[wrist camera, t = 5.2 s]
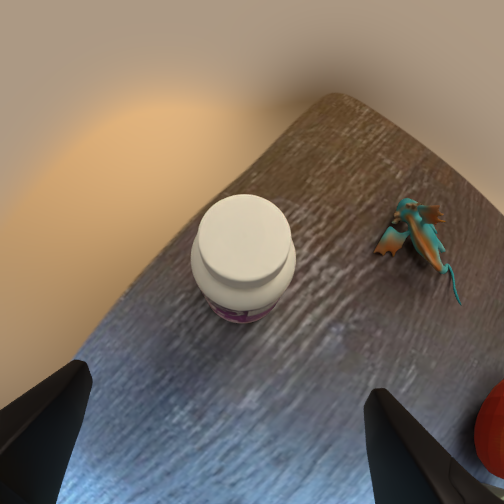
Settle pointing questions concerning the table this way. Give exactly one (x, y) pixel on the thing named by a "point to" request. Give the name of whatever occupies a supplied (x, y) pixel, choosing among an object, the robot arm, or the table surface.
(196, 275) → the pill bottle
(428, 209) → the dragon figurine
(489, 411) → the fruit
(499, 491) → the green faceted cup
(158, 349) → the table surface
